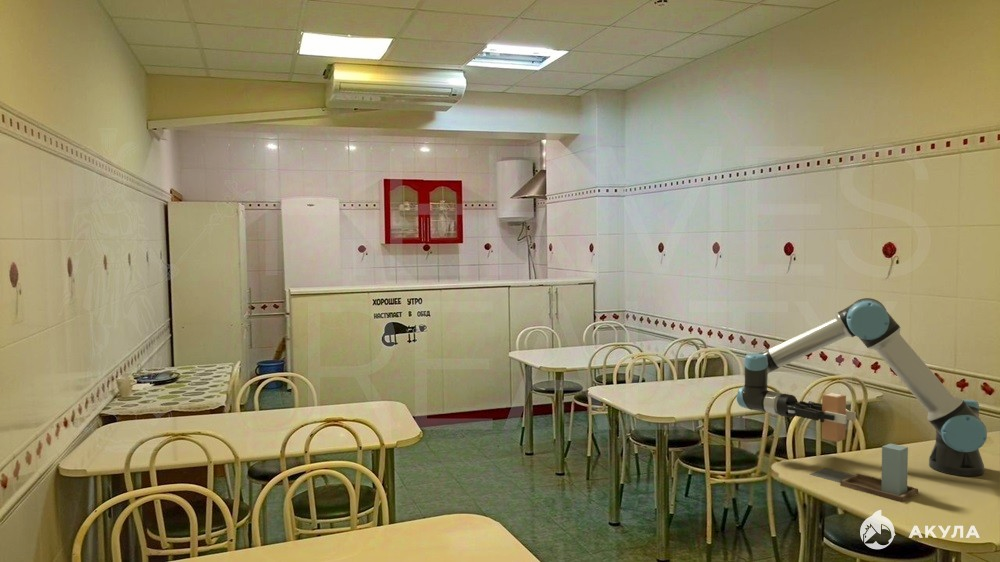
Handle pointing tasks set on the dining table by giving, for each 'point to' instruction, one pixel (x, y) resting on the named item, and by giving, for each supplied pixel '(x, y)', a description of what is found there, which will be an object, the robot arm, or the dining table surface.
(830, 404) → the rust box
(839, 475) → the mat
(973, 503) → the dining table surface
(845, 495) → the dining table surface
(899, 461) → the slate box
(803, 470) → the dining table surface
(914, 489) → the tray
